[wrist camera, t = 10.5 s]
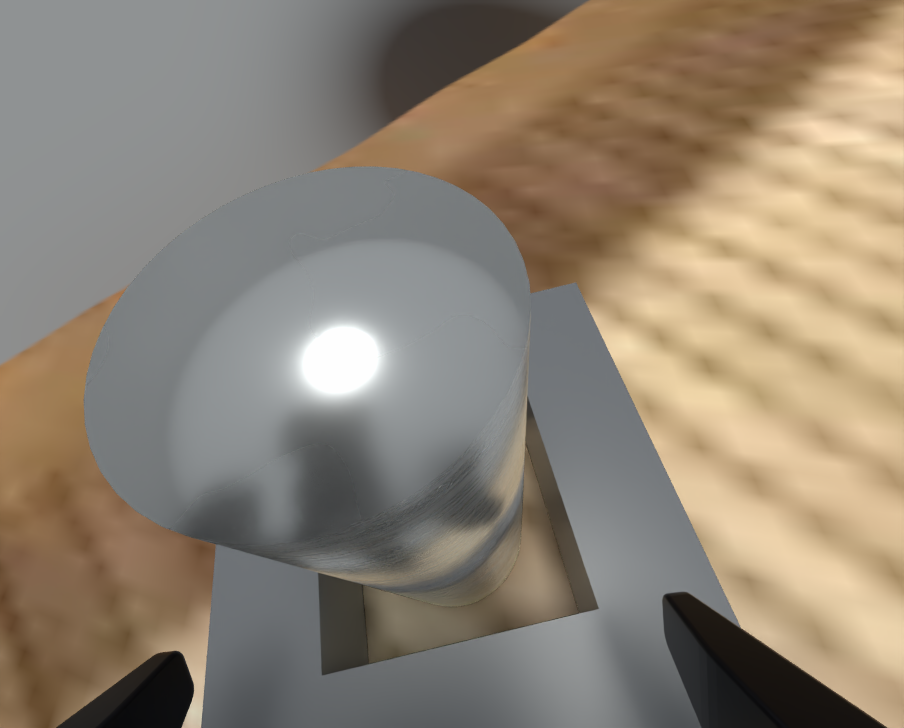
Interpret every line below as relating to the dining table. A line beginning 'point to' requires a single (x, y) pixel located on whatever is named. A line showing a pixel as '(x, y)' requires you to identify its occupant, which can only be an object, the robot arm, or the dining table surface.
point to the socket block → (509, 652)
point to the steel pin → (328, 383)
